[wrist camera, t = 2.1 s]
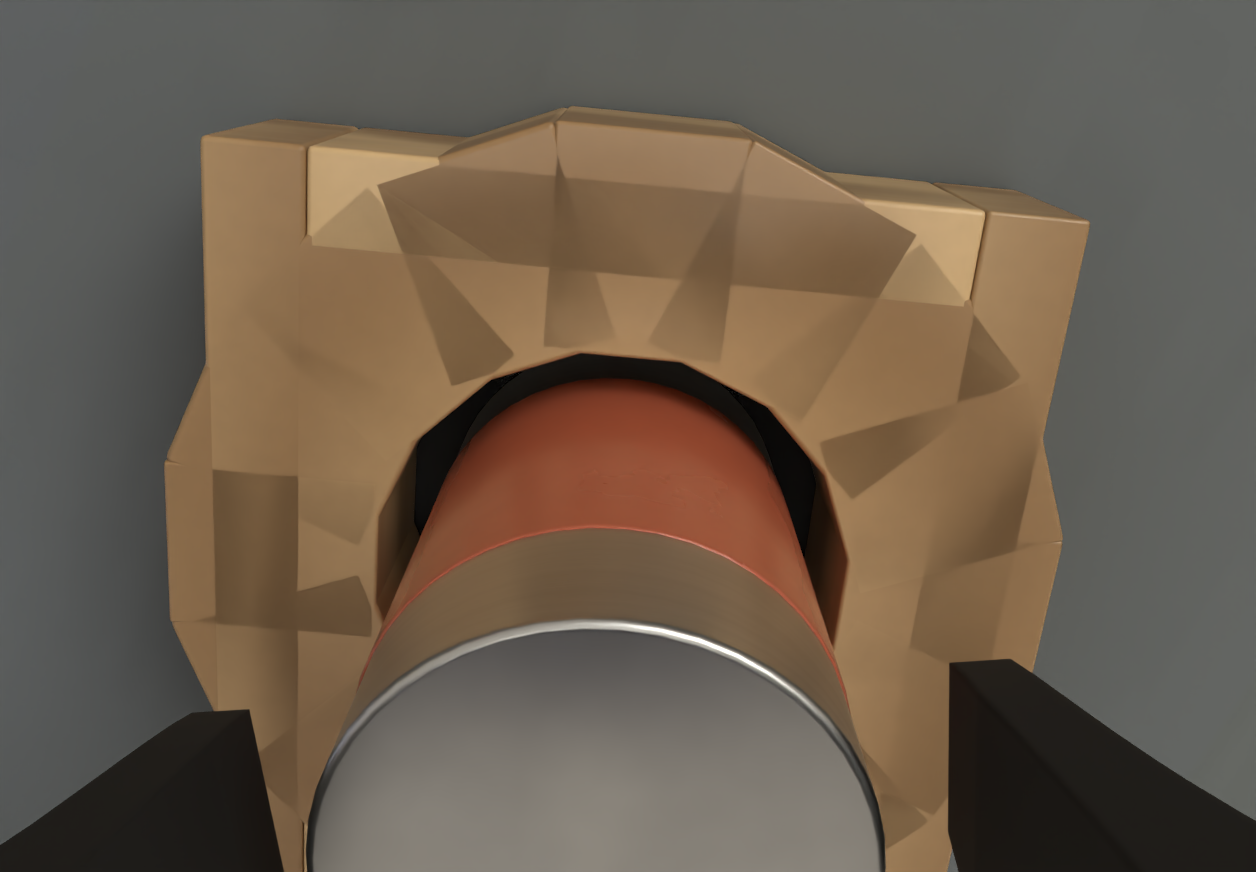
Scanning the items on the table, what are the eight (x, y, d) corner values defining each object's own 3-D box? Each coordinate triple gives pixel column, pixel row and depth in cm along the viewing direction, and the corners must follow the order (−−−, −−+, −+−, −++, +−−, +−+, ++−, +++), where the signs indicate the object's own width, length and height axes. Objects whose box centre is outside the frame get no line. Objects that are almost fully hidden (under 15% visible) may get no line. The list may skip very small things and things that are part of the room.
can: (444, 630, 20) (299, 1084, 11) (459, 327, 18) (300, 590, 10) (754, 658, 20) (842, 1126, 11) (797, 359, 18) (940, 646, 10)
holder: (241, 786, 21) (179, 905, 18) (230, 72, 17) (148, 80, 14) (920, 842, 21) (964, 969, 18) (1065, 154, 17) (1150, 177, 14)
